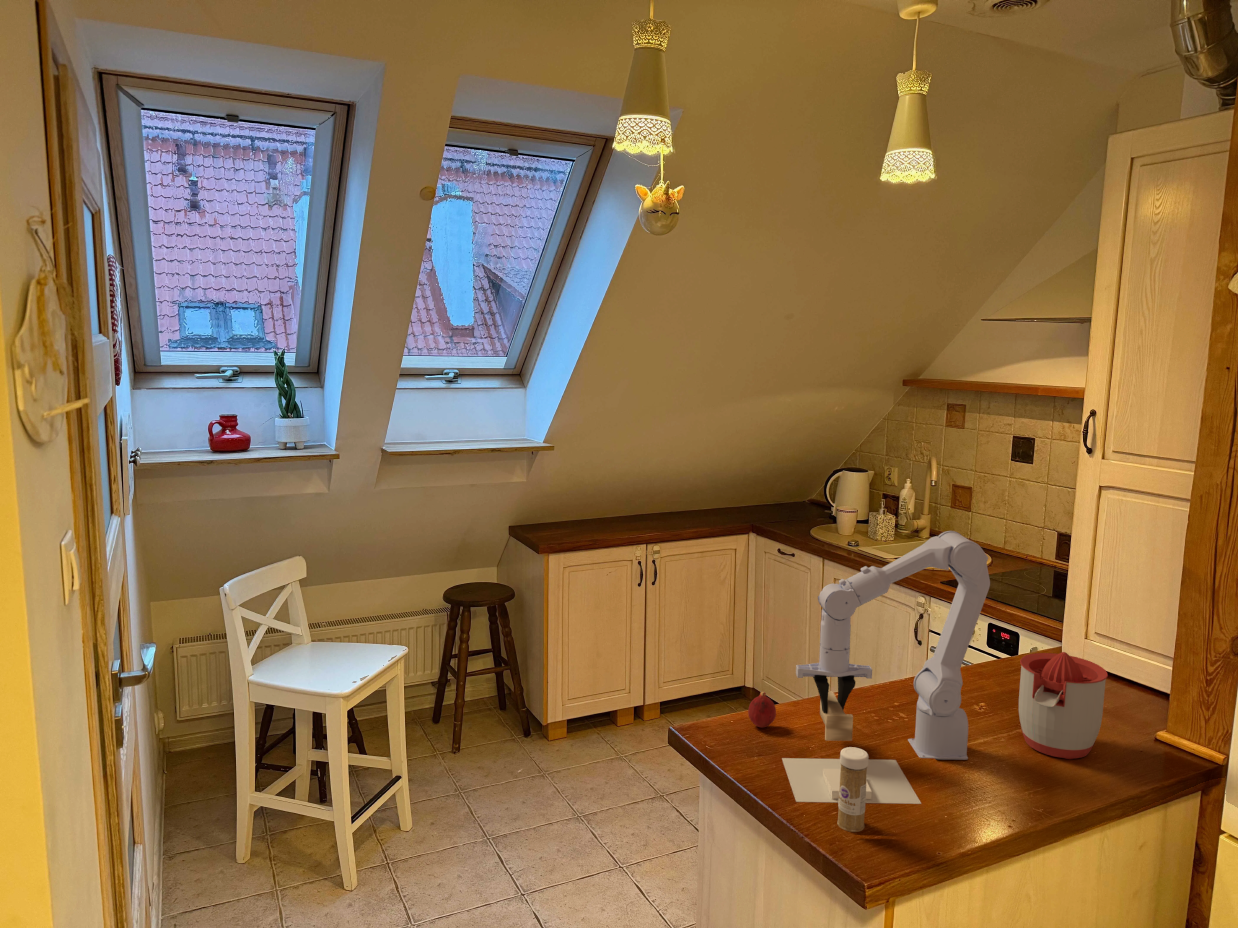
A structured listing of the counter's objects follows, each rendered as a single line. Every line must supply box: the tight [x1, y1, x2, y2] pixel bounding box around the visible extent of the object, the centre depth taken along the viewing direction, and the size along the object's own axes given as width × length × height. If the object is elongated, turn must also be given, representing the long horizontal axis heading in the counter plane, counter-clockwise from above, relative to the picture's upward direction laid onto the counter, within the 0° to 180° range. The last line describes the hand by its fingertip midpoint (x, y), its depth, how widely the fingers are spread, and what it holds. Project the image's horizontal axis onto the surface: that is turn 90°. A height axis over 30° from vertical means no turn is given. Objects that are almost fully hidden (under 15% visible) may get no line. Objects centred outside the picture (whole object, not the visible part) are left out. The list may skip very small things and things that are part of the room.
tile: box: [823, 769, 872, 799], centre depth 159 cm, size 7×2×8 cm
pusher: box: [819, 690, 854, 742], centre depth 173 cm, size 5×12×5 cm, turn 179°
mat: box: [781, 757, 922, 805], centre depth 162 cm, size 22×16×1 cm
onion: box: [747, 691, 777, 729], centre depth 184 cm, size 6×6×8 cm
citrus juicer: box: [1018, 651, 1109, 760], centre depth 175 cm, size 16×17×20 cm
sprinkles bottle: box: [836, 746, 869, 833], centre depth 147 cm, size 5×5×13 cm
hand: (832, 711), depth 173 cm, fingers closed on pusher, 2 cm apart
